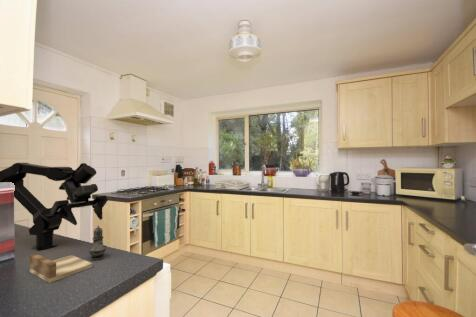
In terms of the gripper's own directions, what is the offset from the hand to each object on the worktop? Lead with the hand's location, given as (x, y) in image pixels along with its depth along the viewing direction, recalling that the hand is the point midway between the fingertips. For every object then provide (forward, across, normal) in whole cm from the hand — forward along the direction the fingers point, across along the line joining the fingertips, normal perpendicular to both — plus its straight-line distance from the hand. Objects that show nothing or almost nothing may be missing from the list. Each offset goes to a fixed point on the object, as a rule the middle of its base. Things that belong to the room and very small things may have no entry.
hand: (89, 221), depth 88 cm
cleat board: (+12, -11, +5) cm, 18 cm away
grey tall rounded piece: (+13, 0, +5) cm, 14 cm away
